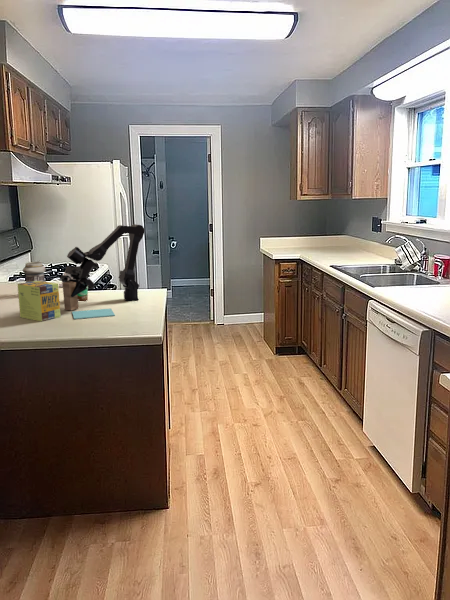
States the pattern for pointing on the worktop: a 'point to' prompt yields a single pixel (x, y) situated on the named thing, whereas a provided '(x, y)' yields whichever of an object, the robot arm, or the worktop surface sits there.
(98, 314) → the teal mat
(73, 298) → the walnut block
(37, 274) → the apothecary jar
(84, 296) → the food container
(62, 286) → the portable electronic device stand
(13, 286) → the worktop surface
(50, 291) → the protein box
